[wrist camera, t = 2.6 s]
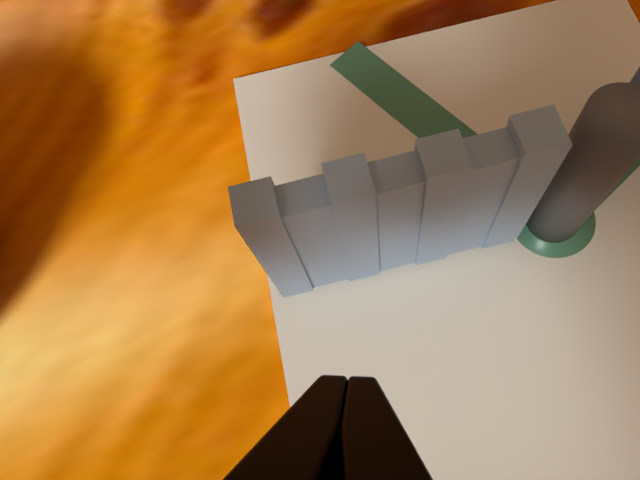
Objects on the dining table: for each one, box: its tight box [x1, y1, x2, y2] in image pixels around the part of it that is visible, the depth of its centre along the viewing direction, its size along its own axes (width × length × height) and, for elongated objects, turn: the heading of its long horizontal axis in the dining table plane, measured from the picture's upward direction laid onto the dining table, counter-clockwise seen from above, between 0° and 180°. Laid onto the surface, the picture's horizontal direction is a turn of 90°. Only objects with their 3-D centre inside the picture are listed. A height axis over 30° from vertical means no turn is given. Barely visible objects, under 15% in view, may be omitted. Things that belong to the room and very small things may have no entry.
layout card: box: [233, 0, 640, 480], centre depth 22 cm, size 20×18×1 cm
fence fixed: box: [526, 67, 640, 243], centre depth 18 cm, size 8×2×8 cm, turn 133°
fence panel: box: [228, 104, 573, 298], centre depth 18 cm, size 9×1×7 cm, turn 103°
